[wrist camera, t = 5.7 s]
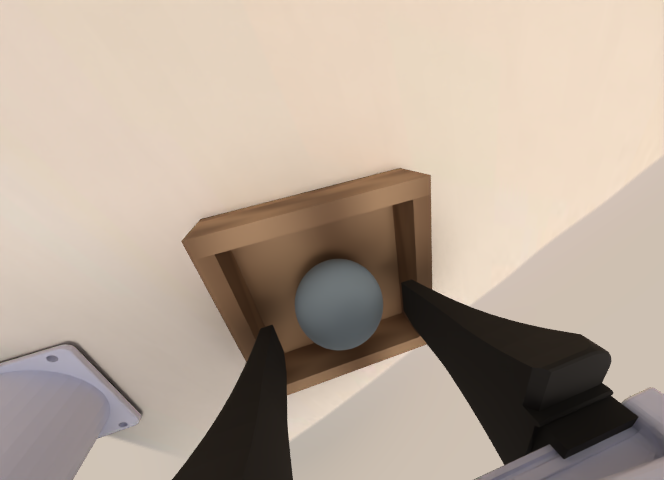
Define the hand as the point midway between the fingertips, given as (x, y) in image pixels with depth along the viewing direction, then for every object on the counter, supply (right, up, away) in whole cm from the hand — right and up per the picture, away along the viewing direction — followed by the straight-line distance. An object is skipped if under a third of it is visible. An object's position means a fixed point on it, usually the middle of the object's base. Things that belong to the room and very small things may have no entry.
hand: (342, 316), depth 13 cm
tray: (-1, +2, +4) cm, 4 cm away
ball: (-1, +1, +3) cm, 4 cm away
